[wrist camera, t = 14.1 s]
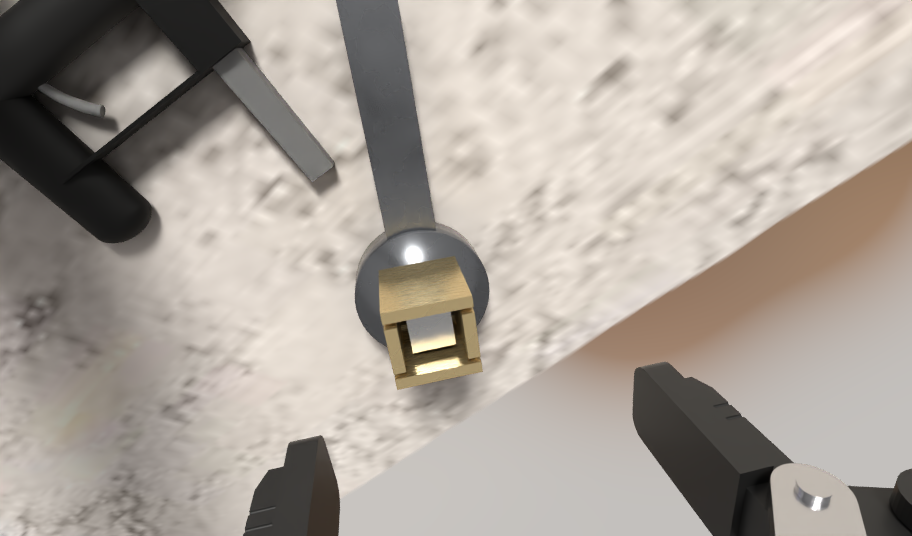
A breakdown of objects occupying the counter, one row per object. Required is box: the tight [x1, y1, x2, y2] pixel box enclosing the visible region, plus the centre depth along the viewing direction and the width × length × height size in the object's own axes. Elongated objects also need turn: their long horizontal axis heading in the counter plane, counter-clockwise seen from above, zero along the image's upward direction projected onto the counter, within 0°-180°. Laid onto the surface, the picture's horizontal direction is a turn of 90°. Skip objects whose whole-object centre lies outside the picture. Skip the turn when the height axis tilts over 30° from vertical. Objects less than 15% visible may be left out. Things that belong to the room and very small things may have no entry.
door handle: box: [0, 0, 334, 243], centre depth 26 cm, size 3×20×16 cm
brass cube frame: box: [379, 256, 483, 390], centre depth 29 cm, size 5×5×6 cm
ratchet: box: [336, 0, 489, 353], centre depth 28 cm, size 9×22×7 cm, turn 8°
